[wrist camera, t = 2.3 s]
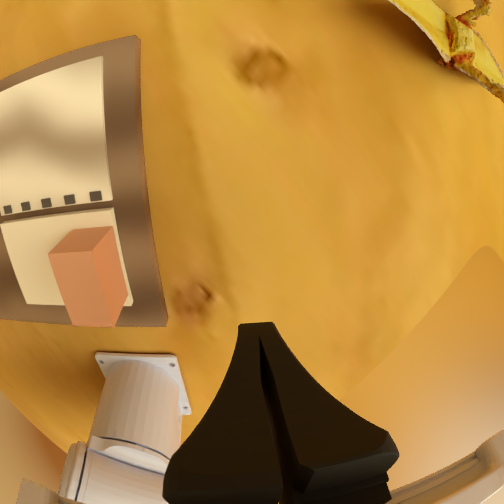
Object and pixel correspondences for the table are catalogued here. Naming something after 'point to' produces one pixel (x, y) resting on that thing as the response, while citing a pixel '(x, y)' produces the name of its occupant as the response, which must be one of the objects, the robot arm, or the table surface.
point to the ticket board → (79, 166)
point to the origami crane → (458, 40)
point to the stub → (71, 264)
